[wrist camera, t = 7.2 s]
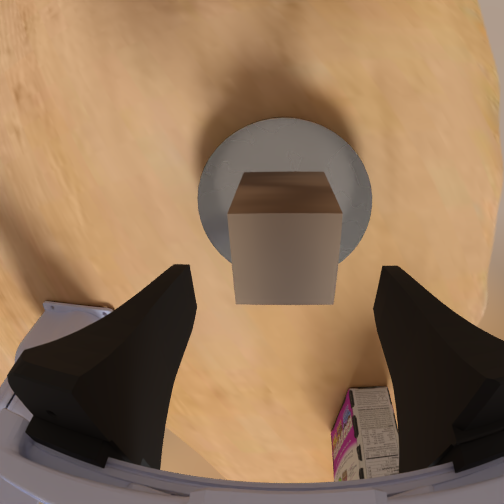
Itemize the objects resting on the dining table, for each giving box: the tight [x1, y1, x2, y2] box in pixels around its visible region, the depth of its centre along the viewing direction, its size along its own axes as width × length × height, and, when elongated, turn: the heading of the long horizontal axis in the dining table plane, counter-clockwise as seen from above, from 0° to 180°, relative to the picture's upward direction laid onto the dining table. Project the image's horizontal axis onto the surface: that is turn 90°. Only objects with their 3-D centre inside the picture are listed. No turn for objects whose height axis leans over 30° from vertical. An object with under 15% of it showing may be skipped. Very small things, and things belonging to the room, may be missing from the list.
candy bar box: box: [331, 386, 399, 482], centre depth 26 cm, size 11×5×16 cm, turn 1°
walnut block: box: [227, 171, 343, 305], centre depth 16 cm, size 4×4×6 cm
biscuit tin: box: [198, 117, 372, 264], centre depth 20 cm, size 10×10×3 cm
